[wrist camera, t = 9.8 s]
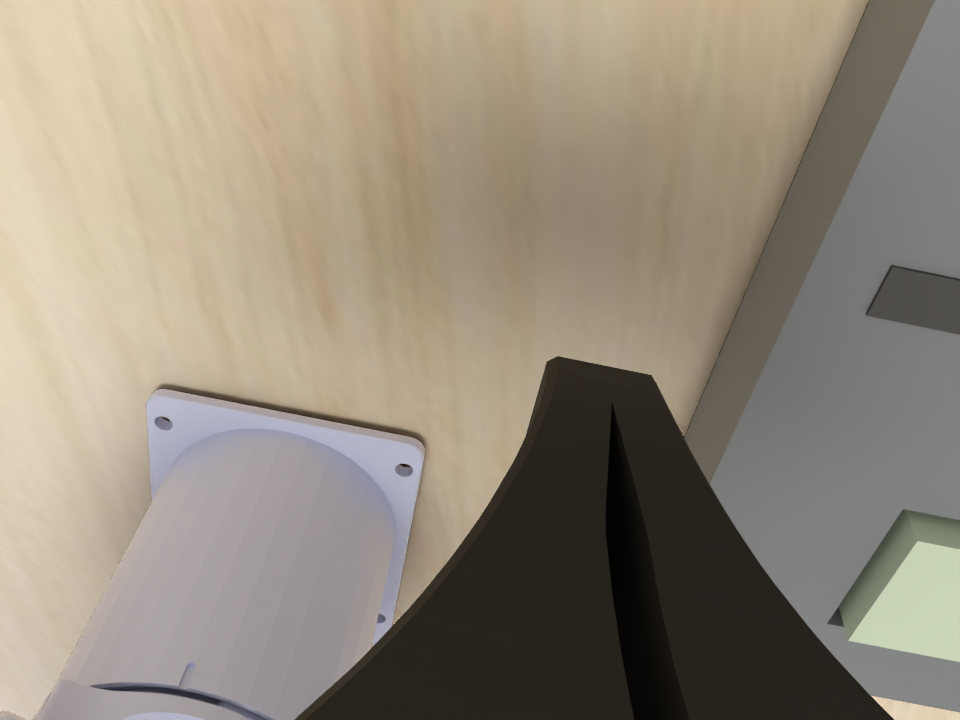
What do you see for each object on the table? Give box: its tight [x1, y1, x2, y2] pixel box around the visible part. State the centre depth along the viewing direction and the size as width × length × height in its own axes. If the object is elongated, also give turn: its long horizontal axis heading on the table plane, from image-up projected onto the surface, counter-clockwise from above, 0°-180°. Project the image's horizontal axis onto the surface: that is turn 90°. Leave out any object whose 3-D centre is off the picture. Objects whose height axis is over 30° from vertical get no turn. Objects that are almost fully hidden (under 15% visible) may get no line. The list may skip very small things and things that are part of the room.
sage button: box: [839, 509, 960, 662], centre depth 24 cm, size 4×4×3 cm
